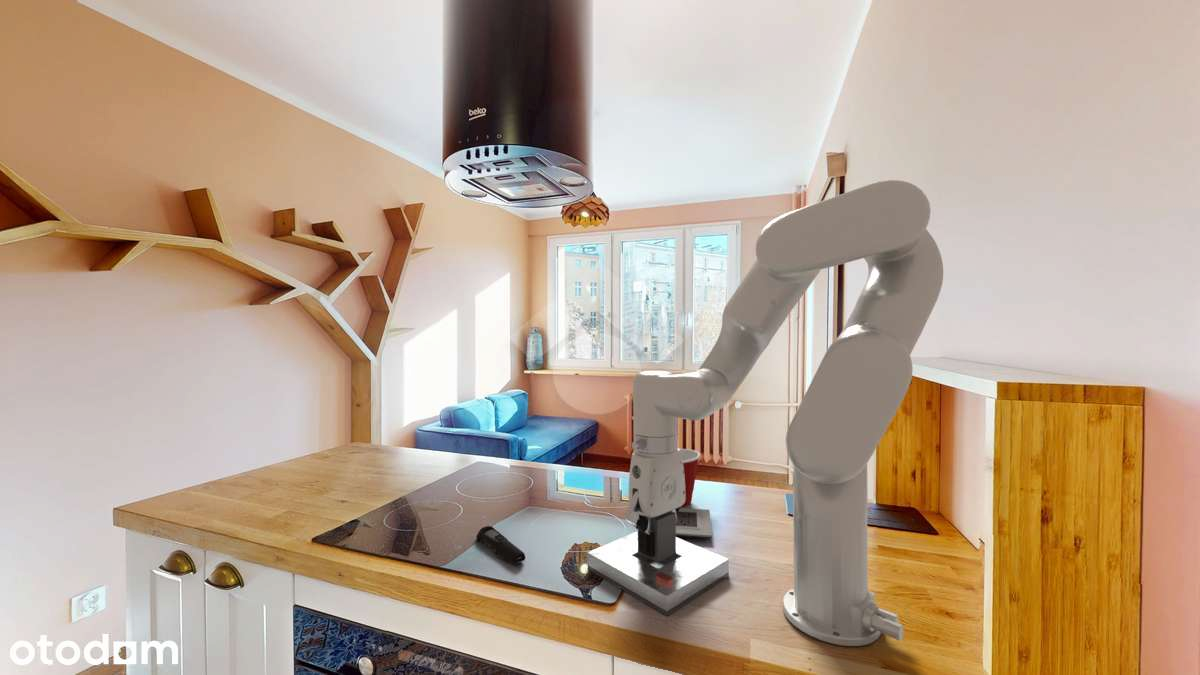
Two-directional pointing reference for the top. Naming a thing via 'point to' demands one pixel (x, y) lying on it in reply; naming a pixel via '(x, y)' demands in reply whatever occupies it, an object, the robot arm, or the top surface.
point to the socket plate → (659, 572)
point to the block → (663, 536)
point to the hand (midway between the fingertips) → (656, 548)
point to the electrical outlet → (693, 523)
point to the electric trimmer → (500, 545)
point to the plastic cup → (689, 472)
